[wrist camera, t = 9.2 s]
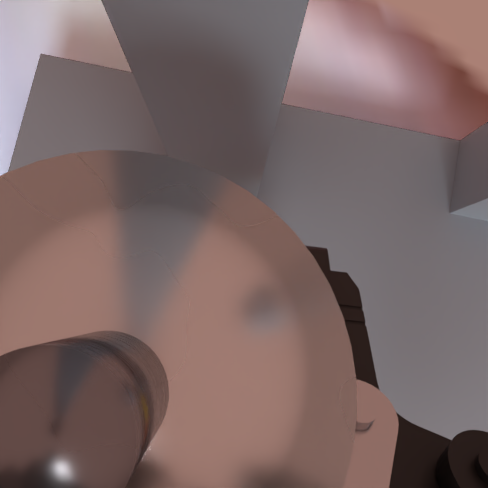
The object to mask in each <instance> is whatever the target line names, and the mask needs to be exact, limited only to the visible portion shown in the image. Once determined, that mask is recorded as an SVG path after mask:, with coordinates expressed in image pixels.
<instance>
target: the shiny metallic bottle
mask: <svg viewBox="0 0 488 488" xmlns="http://www.w3.org/2000/svg"><path fill="white" fill-rule="evenodd" d="M356 418H357V387H356V373H355V367H354V360H353V353H352V346H351V343H350V339H349V336H348V332H347V328H346V325H345V321H344V318H343V314H342V312H341V310H340V307H339V305H338V302H337V300H336V298H335V295H334V293H333V291H332V288H331V286H330V284H329V282H328V280H327V279H326V277H325V275H324V274H323V272H322V270H321V268H320V267H319V265H318V263H317V262H316V260H315V258H314V257H313V255H312V254H311V253H310V251H309V250H308V249H307V248H306V246H305V245H304V244H303V242H302V241H301V240H300V238H299V237H298V236H297V235H296V233H295V232H294V231H293V230H292V229H291V228H290V227H289V226H288V225H287V224H286V223H285V222H284V221H283V220H282V219H281V218H280V217H279V216H278V215H277V214H276V213H275V212H274V211H273V210H272V209H271V208H269V207H268V206H267V205H265V204H264V203H263V202H262V201H260V200H259V199H258V198H256V197H255V196H254V195H252V194H251V193H250V192H249V191H247V190H245V189H244V188H242V187H240V186H239V185H237V184H235V183H233V182H232V181H230V180H228V179H227V178H225V177H223V176H221V175H219V174H217V173H214V172H212V171H210V170H207V169H205V168H203V167H200V166H198V165H195V164H193V163H190V162H186V161H182V160H179V159H175V158H172V157H168V156H164V155H159V154H152V153H145V152H138V151H127V150H97V151H87V152H78V153H69V154H65V155H61V156H56V157H52V158H48V159H44V160H39V161H36V162H34V163H31V164H28V165H26V166H23V167H20V168H18V169H15V170H12V171H9V172H7V173H5V174H3V175H1V176H0V488H343V486H344V484H345V481H346V477H347V472H348V468H349V464H350V460H351V455H352V451H353V447H354V437H355V428H356Z"/></svg>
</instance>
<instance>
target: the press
mask: <svg viewBox="0 0 488 488" xmlns="http://www.w3.org/2000/svg"><path fill="white" fill-rule="evenodd" d="M308 2H309V0H102V3H103V5H104V7H105V10H106V12H107V14H108V17H109V19H110V21H111V24H112V26H113V28H114V31H115V33H116V35H117V38H118V40H119V42H120V45H121V47H122V49H123V52H124V54H125V56H126V59H127V61H128V63H129V66H130V68H131V70H132V73H131V72H127V71H122V70H117V69H112V68H107V67H103V66H98V65H93V64H88V63H83V62H78V61H74V60H69V59H64V58H59V57H54V56H49V55H45V54H40V58H39V62H38V65H37V69H36V73H35V76H34V80H33V83H32V87H31V91H30V94H29V98H28V102H27V105H26V109H25V112H24V116H23V120H22V123H21V127H20V131H19V134H18V138H17V141H16V145H15V149H14V152H13V156H12V160H11V163H10V167H9V170H8V172H9V171H12V170H15V169H18V168H20V167H23V166H26V165H28V164H31V163H34V162H36V161H39V160H44V159H48V158H52V157H56V156H61V155H65V154H69V153H78V152H87V151H97V150H127V151H138V152H145V153H152V154H159V155H164V156H168V157H172V158H175V159H179V160H182V161H186V162H190V163H193V164H195V165H198V166H200V167H203V168H205V169H207V170H210V171H212V172H214V173H217V174H219V175H221V176H223V177H225V178H227V179H228V180H230V181H232V182H233V183H235V184H237V185H239V186H240V187H242V188H244V189H245V190H247V191H249V192H250V193H251V194H252V195H254V196H255V197H256V198H258V199H259V200H260V201H262V202H263V203H264V204H265V205H267V206H268V207H269V208H271V209H272V210H273V211H274V212H275V213H276V214H277V215H278V216H279V217H280V218H281V219H282V220H283V221H284V222H285V223H286V224H287V225H288V226H289V227H290V228H291V229H292V230H293V231H294V232H295V233H296V235H297V236H298V237H299V238H300V240H301V241H302V242H303V244H304V245H306V246H314V247H322V248H327V250H328V255H329V263H330V270H331V271H339V272H347V273H348V274H349V276H350V277H351V279H352V280H353V281H354V283H355V284H356V286H357V287H358V288H359V291H360V296H361V301H362V306H363V308H362V311H363V312H364V317H365V326H366V327H367V332H368V337H369V342H370V347H371V352H372V357H373V362H374V368H375V373H376V378H377V383H378V386H379V389H380V391H381V392H382V393H383V394H384V395H385V396H386V397H387V398H388V399H389V400H390V402H391V403H392V405H393V407H394V409H395V411H396V412H397V413H398V414H399V415H400V416H402V417H403V418H405V419H406V420H408V421H409V422H411V423H413V424H415V425H417V426H420V427H422V428H424V429H427V430H429V431H431V432H434V433H436V434H439V435H441V436H443V437H446V438H448V439H450V440H452V439H453V438H454V437H455V436H456V435H457V434H459V433H461V432H463V431H467V430H480V431H485V432H488V122H487V123H485V124H484V125H482V126H481V127H479V128H478V129H477V130H475V131H474V132H472V133H471V134H469V135H468V136H466V137H465V138H463V139H462V140H461V141H460V140H455V139H450V138H445V137H440V136H435V135H431V134H426V133H421V132H416V131H411V130H406V129H402V128H397V127H392V126H387V125H382V124H377V123H373V122H368V121H363V120H358V119H353V118H349V117H344V116H339V115H334V114H329V113H324V112H320V111H315V110H310V109H305V108H300V107H295V106H291V105H286V104H281V103H282V100H283V96H284V92H285V88H286V85H287V81H288V77H289V73H290V70H291V66H292V62H293V58H294V54H295V51H296V47H297V43H298V39H299V36H300V32H301V28H302V24H303V21H304V17H305V13H306V9H307V5H308Z"/></svg>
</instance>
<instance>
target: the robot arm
mask: <svg viewBox="0 0 488 488" xmlns="http://www.w3.org/2000/svg"><path fill="white" fill-rule="evenodd" d="M305 246H306V245H305ZM306 248H307V249H308V250H309V251H310V253H311V254H312V255H313V257H314V258H315V260H316V262H317V263H318V265H319V267H320V268H321V270H322V272H323V274H324V275H325V277H326V279H327V280H328V282H329V284H330V286H331V288H332V291H333V293H334V295H335V298H336V300H337V302H338V305H339V307H340V310H341V312H342V314H343V318H344V321H345V325H346V328H347V332H348V336H349V339H350V343H351V346H352V353H353V360H354V367H355V373H356V387H357V418H356V428H355V437H354V447H353V451H352V455H351V460H350V464H349V468H348V472H347V477H346V481H345V484H344V486H343V488H488V432H485V431H480V430H467V431H463V432H461V433H459V434H457V435H456V436H455V437H454V438H453V439H452V440H450V439H448V438H446V437H443V436H441V435H439V434H436V433H434V432H431V431H429V430H427V429H424V428H422V427H420V426H417V425H415V424H413V423H411V422H409V421H408V420H406V419H405V418H403V417H402V416H400V415H399V414H398V413H397V412H396V411H395V409H394V407H393V405H392V403H391V402H390V400H389V399H388V398H387V397H386V396H385V395H384V394H383V393H382V392H381V391H380V389H379V386H378V383H377V378H376V373H375V368H374V362H373V357H372V352H371V347H370V342H369V337H368V332H367V327H366V326H365V317H364V312H363V311H362V308H363V306H362V301H361V296H360V291H359V288H358V287H357V286H356V284H355V283H354V281H353V280H352V279H351V277H350V276H349V274H348V273H347V272H339V271H331V270H330V263H329V255H328V250H327V248H322V247H314V246H306Z"/></svg>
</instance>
